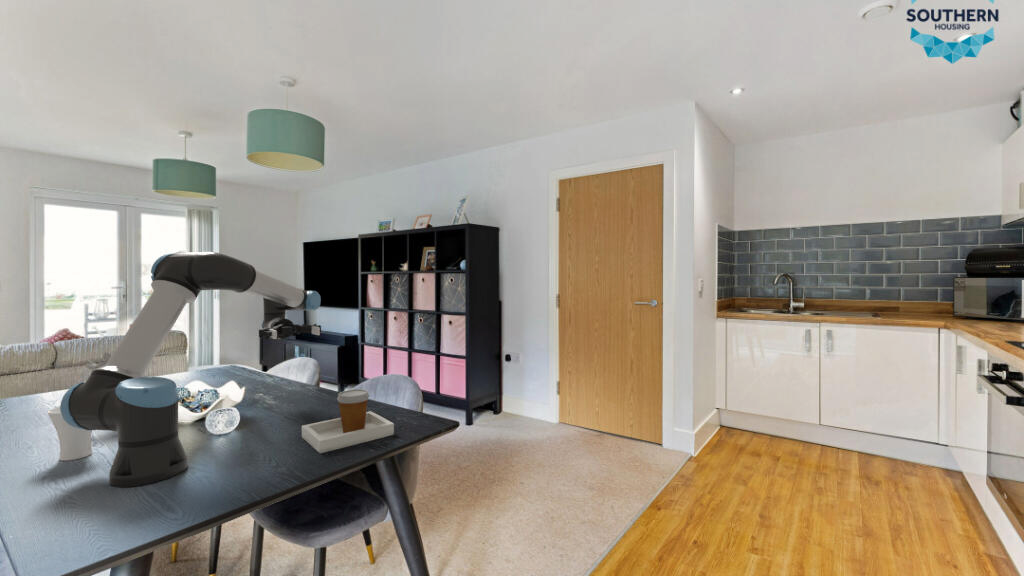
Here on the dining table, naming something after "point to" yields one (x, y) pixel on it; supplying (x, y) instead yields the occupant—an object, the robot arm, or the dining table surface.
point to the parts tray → (332, 436)
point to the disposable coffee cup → (353, 409)
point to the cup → (70, 437)
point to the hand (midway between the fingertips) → (297, 333)
